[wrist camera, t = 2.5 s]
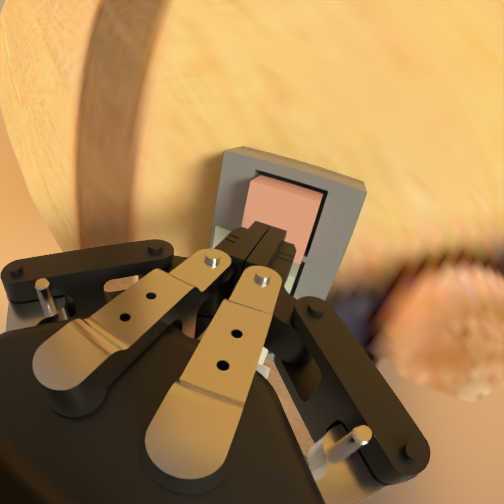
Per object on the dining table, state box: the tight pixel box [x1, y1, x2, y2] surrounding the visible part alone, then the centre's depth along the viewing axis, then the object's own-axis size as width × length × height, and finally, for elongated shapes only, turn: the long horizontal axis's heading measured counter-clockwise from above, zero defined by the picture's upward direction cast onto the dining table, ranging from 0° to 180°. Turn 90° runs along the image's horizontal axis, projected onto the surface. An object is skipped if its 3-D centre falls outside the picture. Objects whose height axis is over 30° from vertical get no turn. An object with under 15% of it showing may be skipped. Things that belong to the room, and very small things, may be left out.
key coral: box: [241, 175, 323, 264], centre depth 17 cm, size 4×4×2 cm
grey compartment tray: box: [209, 146, 367, 361], centre depth 21 cm, size 16×9×3 cm, turn 169°
